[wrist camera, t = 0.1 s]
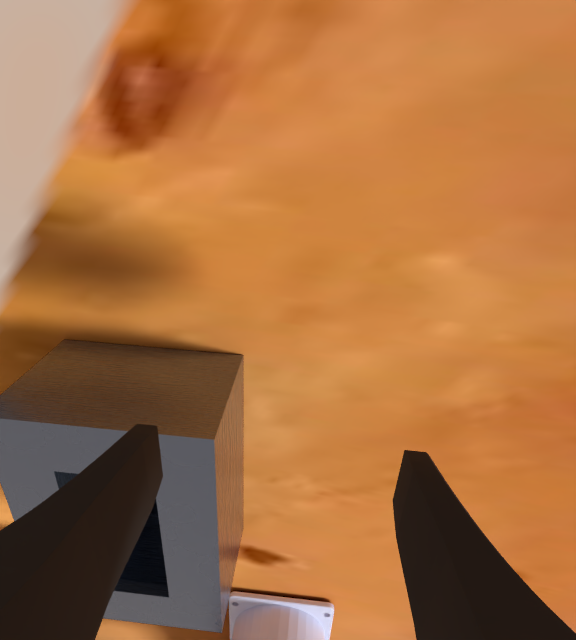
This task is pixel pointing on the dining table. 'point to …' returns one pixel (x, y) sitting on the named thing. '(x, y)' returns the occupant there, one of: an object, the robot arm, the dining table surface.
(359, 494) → the dining table surface
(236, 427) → the grey box with slot
